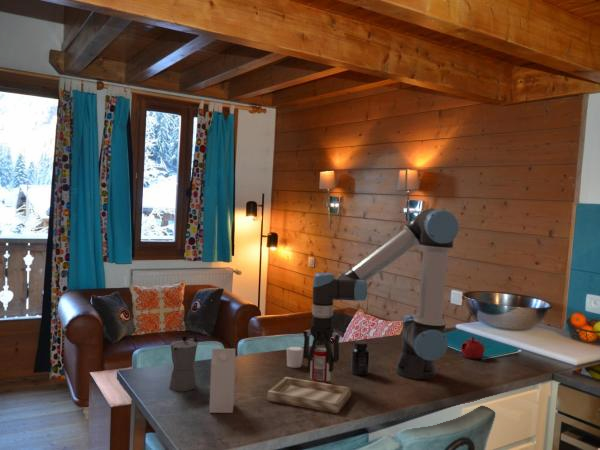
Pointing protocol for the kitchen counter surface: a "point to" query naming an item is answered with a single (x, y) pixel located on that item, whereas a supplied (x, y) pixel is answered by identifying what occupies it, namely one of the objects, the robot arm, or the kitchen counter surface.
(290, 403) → the tray
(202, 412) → the kitchen counter surface
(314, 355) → the soda can
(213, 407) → the milk carton
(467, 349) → the pomegranate
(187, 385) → the coffeepot
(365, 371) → the supplement bottle
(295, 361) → the white cylinder
